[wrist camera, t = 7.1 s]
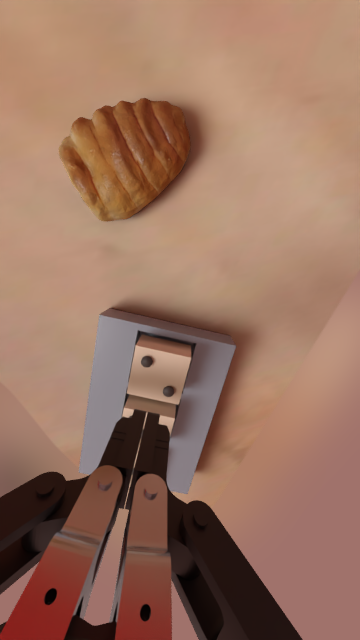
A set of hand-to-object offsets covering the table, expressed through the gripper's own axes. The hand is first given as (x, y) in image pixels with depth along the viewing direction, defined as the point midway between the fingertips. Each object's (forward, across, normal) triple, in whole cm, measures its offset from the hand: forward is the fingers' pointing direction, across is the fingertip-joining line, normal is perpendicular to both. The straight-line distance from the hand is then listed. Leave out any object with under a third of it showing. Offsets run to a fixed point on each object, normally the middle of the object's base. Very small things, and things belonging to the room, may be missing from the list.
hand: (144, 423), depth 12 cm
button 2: (+8, 0, 0) cm, 8 cm away
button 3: (+8, 0, +6) cm, 10 cm away
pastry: (+10, +6, -15) cm, 19 cm away
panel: (+10, 0, +6) cm, 11 cm away
